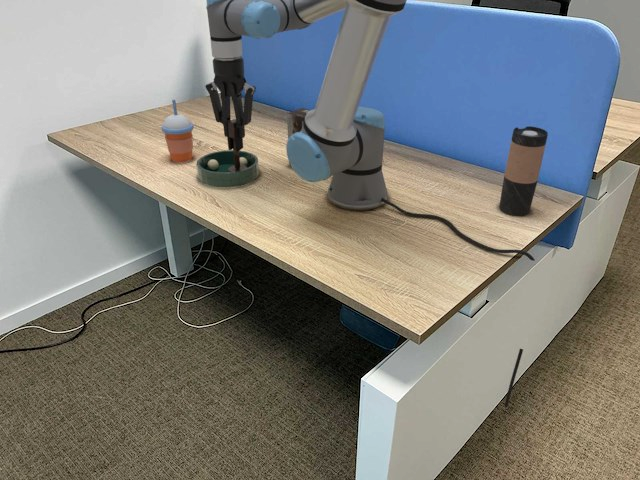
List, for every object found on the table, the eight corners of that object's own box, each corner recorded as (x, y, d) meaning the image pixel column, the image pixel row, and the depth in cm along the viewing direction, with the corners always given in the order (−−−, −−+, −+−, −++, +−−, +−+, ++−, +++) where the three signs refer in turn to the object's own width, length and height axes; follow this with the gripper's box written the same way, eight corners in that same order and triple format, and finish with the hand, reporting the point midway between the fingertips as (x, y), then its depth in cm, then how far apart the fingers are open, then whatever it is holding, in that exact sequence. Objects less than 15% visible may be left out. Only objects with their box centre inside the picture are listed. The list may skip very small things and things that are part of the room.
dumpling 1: (221, 169, 149) (220, 159, 148) (213, 172, 147) (212, 162, 146) (214, 166, 151) (213, 157, 149) (206, 169, 149) (204, 160, 147)
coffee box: (325, 168, 151) (326, 113, 143) (310, 175, 147) (309, 119, 139) (303, 160, 157) (302, 107, 148) (287, 166, 153) (286, 112, 144)
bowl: (271, 174, 148) (270, 159, 145) (227, 194, 136) (225, 178, 134) (230, 160, 157) (229, 145, 154) (185, 178, 146) (183, 162, 143)
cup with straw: (190, 166, 152) (181, 105, 143) (161, 164, 154) (151, 103, 145) (202, 155, 160) (195, 96, 151) (174, 153, 162) (166, 94, 152)
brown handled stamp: (250, 173, 145) (246, 119, 138) (242, 180, 141) (238, 125, 133) (234, 171, 147) (229, 117, 139) (225, 178, 143) (219, 123, 135)
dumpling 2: (249, 167, 151) (249, 157, 149) (242, 170, 149) (241, 160, 147) (242, 164, 152) (241, 154, 151) (235, 167, 150) (234, 157, 149)
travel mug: (526, 219, 125) (544, 139, 115) (494, 211, 128) (509, 133, 118) (533, 206, 130) (551, 129, 120) (502, 199, 134) (517, 123, 124)
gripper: (261, 56, 129) (266, 147, 141) (208, 52, 133) (218, 141, 145) (248, 62, 123) (255, 156, 135) (193, 58, 127) (204, 150, 139)
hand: (235, 148), depth 140 cm, fingers closed on brown handled stamp, 2 cm apart
